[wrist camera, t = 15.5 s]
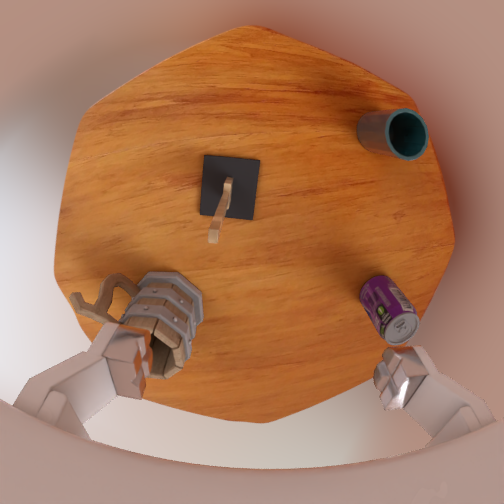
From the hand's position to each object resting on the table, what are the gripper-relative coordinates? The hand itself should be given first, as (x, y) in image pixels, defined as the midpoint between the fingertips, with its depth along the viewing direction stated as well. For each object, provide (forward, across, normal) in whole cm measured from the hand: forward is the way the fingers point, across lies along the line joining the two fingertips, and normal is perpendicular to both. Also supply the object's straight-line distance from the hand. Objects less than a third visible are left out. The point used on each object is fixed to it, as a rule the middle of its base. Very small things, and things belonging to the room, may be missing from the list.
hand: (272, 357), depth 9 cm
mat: (+35, +4, +2) cm, 36 cm away
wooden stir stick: (+35, +4, +2) cm, 35 cm away
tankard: (+35, +15, +21) cm, 44 cm away
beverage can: (+36, -25, +17) cm, 46 cm away
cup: (+36, -17, -10) cm, 41 cm away
